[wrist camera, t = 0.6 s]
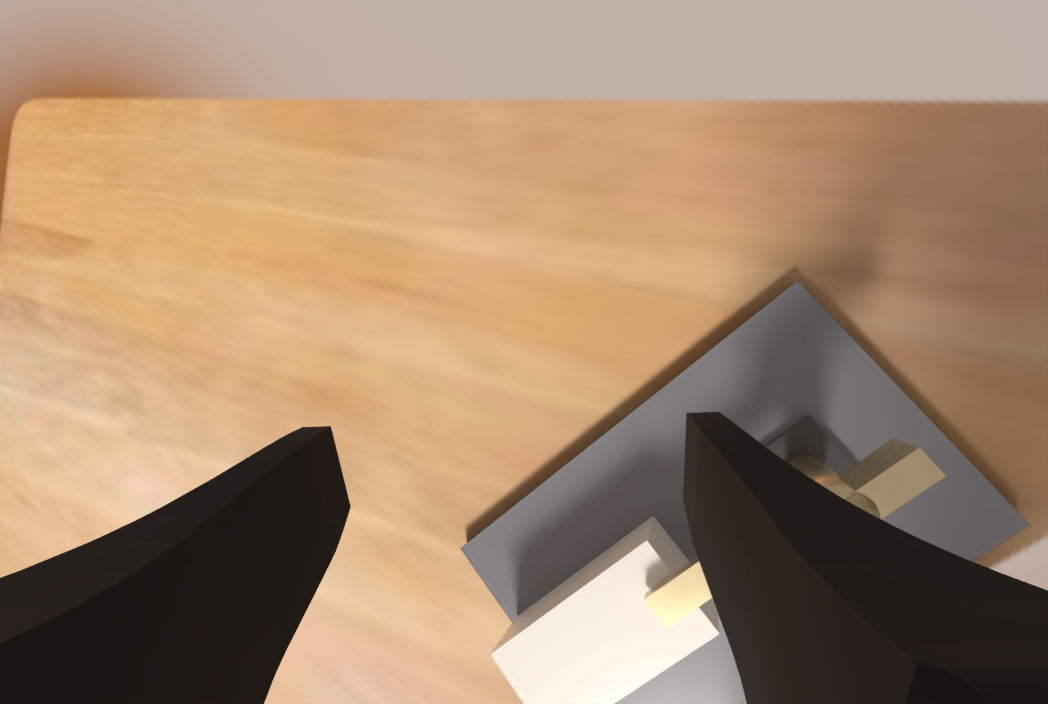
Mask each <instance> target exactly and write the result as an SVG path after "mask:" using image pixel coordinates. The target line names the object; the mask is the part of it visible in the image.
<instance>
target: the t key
mask: <svg viewBox="0 0 1048 704" xmlns="http://www.w3.org/2000/svg"><path fill="white" fill-rule="evenodd" d="M789 464H790V465H792V466H793V467H795V468H796V469H798V470H799V471H801V472H802V473H803V474H805V475H806V476H808V477H810V478H811V479H813V480H814V481H816V482H817V483H819V484H821V485H822V486H824V487H825V488H827V489H828V490H830V491H832V492H833V493H835V494H836V495H838V496H840V497H841V498H843V499H845V500H847V501H848V502H850V503H852V504H854V505H855V506H857V507H859V508H861V509H863V510H865V511H867V512H868V513H870V514H872V515H874V516H876V517H878V518H880V519H883V518H884V517H886V516H887V515H889V514H890V513H892V512H893V511H895V510H896V509H898V508H899V507H901V506H902V505H904V504H905V503H907V502H908V501H910V500H911V499H913V498H914V497H916V496H917V495H919V494H920V493H922V492H923V491H925V490H926V489H928V488H929V487H931V486H932V485H934V484H935V483H937V482H938V481H940V480H941V479H943V478H944V477H946V475H945V474H944V473H943V472H942V471H941V470H940V469H939V468H938V467H937V466H936V465H935V464H934V463H933V461H932V460H931V459H930V458H929V457H928V456H927V455H926V454H925V453H924V452H923V451H922V450H921V449H920V448H919V447H917V446H914V445H911V444H908V443H906V442H903V441H900V440H897V439H895V438H893V439H891V440H890V441H888V442H887V443H885V444H884V445H883V446H881V447H880V448H878V449H877V450H875V451H874V452H873V453H871V454H870V455H868V456H867V457H865V458H864V459H862V460H861V461H860V462H858V463H857V464H855V465H854V466H852V467H851V468H850V469H848V470H847V471H845V472H844V473H842V474H841V475H838V474H837V473H836V472H834V471H833V470H832V469H830V468H829V467H828V466H826V465H825V464H824V463H823V462H821V461H820V460H819V459H817V458H815V457H813V456H810V455H799V456H796V457H794V458H793V459H792V460H790V462H789ZM711 598H712V595H711V593H710V590H709V587H708V584H707V582H706V579H705V576H704V573H703V571H702V568H701V565H700V562H699V559H698V557H696V558H694V559H693V560H691V561H690V562H689V563H687V564H686V565H684V566H683V567H681V568H680V569H679V570H677V571H676V572H674V573H673V574H672V575H670V576H669V577H667V578H666V579H664V580H663V581H662V582H660V583H659V584H657V585H656V586H654V587H653V588H652V589H650V590H649V591H647V592H646V593H645V597H644V601H645V602H646V603H647V605H648V606H649V607H650V608H651V610H652V611H653V612H654V614H655V615H656V616H657V618H658V619H659V620H660V622H661V623H662V624H663V626H664V627H665V628H666V629H667V628H669V627H670V626H671V625H673V624H674V623H676V622H677V621H679V620H680V619H682V618H683V617H685V616H686V615H688V614H689V613H691V612H692V611H693V610H695V609H696V608H698V607H699V606H701V605H702V604H704V603H705V602H707V601H708V600H710V599H711Z"/></svg>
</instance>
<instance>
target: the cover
mask: <svg viewBox="0 0 1048 704" xmlns="http://www.w3.org/2000/svg"><path fill="white" fill-rule="evenodd" d="M689 562H690V561H689V560H688V559H687V557H686V556H685V555H684V554H683V552H682V551H681V550H680V549H679V547H678V546H677V545H676V544H675V542H674V541H673V540H672V539H671V537H670V536H669V535H668V534H667V532H666V531H665V530H664V528H663V527H662V526H661V525H660V523H659V522H658V521H657V520H656V518H655V517H654V516H652V517H651V518H649V519H648V520H647V521H645V522H644V523H643V524H641V525H640V526H639V527H637V528H636V529H635V530H633V531H632V532H630V533H629V534H628V535H626V536H625V537H624V538H622V539H621V540H620V541H618V542H617V543H616V544H614V545H613V546H611V547H610V548H609V549H607V550H606V551H605V552H603V553H602V554H601V555H599V556H598V557H597V558H595V559H594V560H593V561H591V562H590V563H588V564H587V565H586V566H584V567H583V568H582V569H580V570H579V571H578V572H576V573H575V574H574V575H572V576H571V577H569V578H568V579H567V580H565V581H564V582H563V583H561V584H560V585H559V586H557V587H556V588H555V589H553V590H552V591H550V592H549V593H548V594H546V595H545V596H544V597H542V598H541V599H540V600H538V601H537V602H536V603H534V604H533V605H532V606H530V607H529V608H527V609H526V610H525V611H523V612H522V613H521V614H519V615H518V616H517V617H516V618H515V620H514V621H513V623H512V624H511V626H510V627H509V628H508V630H507V631H506V633H505V634H504V636H503V637H502V638H501V640H500V641H499V643H498V644H497V645H496V647H495V648H494V650H493V651H492V653H491V654H490V655H491V656H492V658H493V659H494V661H495V662H496V664H497V665H498V666H499V668H500V669H501V671H502V672H503V674H504V675H505V677H506V678H507V680H508V681H509V683H510V684H511V686H512V687H513V689H514V690H515V691H516V693H517V694H518V696H519V697H520V699H521V700H522V702H523V703H524V704H615V703H616V702H618V701H619V700H621V699H622V698H624V697H625V696H627V695H628V694H630V693H631V692H633V691H634V690H636V689H637V688H639V687H640V686H642V685H643V684H645V683H646V682H648V681H649V680H651V679H652V678H654V677H655V676H657V675H658V674H660V673H661V672H663V671H664V670H666V669H668V668H669V667H671V666H672V665H674V664H675V663H677V662H678V661H680V660H681V659H683V658H684V657H686V656H687V655H689V654H690V653H692V652H693V651H695V650H696V649H698V648H699V647H701V646H702V645H704V644H705V643H707V642H708V641H710V640H711V639H713V638H714V637H716V636H717V635H719V634H720V631H719V621H718V612H717V609H716V606H715V604H714V601H713V598H711V599H710V600H708V601H707V602H705V603H704V604H702V605H701V606H699V607H698V608H696V609H695V610H693V611H692V612H691V613H689V614H688V615H686V616H685V617H683V618H682V619H680V620H679V621H677V622H676V623H674V624H673V625H671V626H670V627H669V628H667V629H666V628H665V627H664V626H663V624H662V623H661V622H660V620H659V619H658V618H657V616H656V615H655V614H654V612H653V611H652V610H651V608H650V607H649V606H648V605H647V603H646V602H645V601H644V597H645V593H646V592H647V591H649V590H650V589H652V588H653V587H654V586H656V585H657V584H659V583H660V582H662V581H663V580H664V579H666V578H667V577H669V576H670V575H672V574H673V573H674V572H676V571H677V570H679V569H680V568H681V567H683V566H684V565H686V564H687V563H689Z"/></svg>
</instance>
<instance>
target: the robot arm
mask: <svg viewBox="0 0 1048 704" xmlns="http://www.w3.org/2000/svg"><path fill="white" fill-rule="evenodd" d="M683 501H684V506H685V510H686V515H687V520H688V524H689V529H690V533H691V537H692V542H693V545H694V548H695V551H696V554H697V557H698V559H699V562H700V565H701V568H702V571H703V573H704V576H705V579H706V582H707V584H708V587H709V590H710V593H711V595H712V598H713V601H714V604H715V606H716V609H717V612H718V614H719V617H720V620H721V623H722V625H723V628H724V631H725V634H726V636H727V639H728V642H729V645H730V647H731V650H732V653H733V656H734V659H735V663H736V666H737V669H738V672H739V675H740V679H741V683H742V687H743V690H744V694H745V698H746V702H747V704H1048V591H1047V590H1045V589H1042V588H1039V587H1037V586H1034V585H1031V584H1028V583H1026V582H1023V581H1020V580H1018V579H1015V578H1012V577H1010V576H1007V575H1004V574H1001V573H999V572H997V571H994V570H992V569H989V568H987V567H984V566H982V565H979V564H977V563H974V562H972V561H969V560H967V559H964V558H962V557H960V556H958V555H955V554H953V553H951V552H949V551H946V550H944V549H942V548H940V547H937V546H935V545H933V544H931V543H929V542H926V541H924V540H922V539H920V538H917V537H915V536H913V535H911V534H909V533H907V532H905V531H903V530H901V529H899V528H897V527H895V526H893V525H891V524H889V523H887V522H885V521H883V520H881V519H880V518H878V517H876V516H874V515H872V514H870V513H868V512H867V511H865V510H863V509H861V508H859V507H857V506H855V505H854V504H852V503H850V502H848V501H847V500H845V499H843V498H841V497H840V496H838V495H836V494H835V493H833V492H832V491H830V490H828V489H827V488H825V487H824V486H822V485H821V484H819V483H817V482H816V481H814V480H813V479H811V478H810V477H808V476H806V475H805V474H803V473H802V472H801V471H799V470H798V469H796V468H795V467H793V466H792V465H790V464H789V463H787V462H786V461H785V460H783V459H782V458H780V457H779V456H778V455H776V454H775V453H773V452H772V451H771V450H769V449H768V448H767V447H765V446H764V445H763V444H761V443H760V442H759V441H757V440H756V439H755V438H753V437H752V436H751V435H749V434H748V433H747V432H745V431H744V430H743V429H741V428H740V427H739V426H738V425H736V424H735V423H734V422H732V421H731V420H730V419H728V418H727V417H726V416H724V415H723V414H721V413H720V412H697V413H686V437H685V461H684V486H683ZM349 510H350V503H349V499H348V494H347V490H346V486H345V482H344V478H343V474H342V470H341V466H340V462H339V458H338V454H337V450H336V446H335V442H334V438H333V433H332V429H331V426H326V427H302V428H300V429H298V430H296V431H293V432H292V433H290V434H288V435H286V436H284V437H282V438H280V439H279V440H277V441H275V442H273V443H272V444H270V445H268V446H266V447H265V448H263V449H261V450H260V451H258V452H256V453H255V454H253V455H251V456H250V457H248V458H246V459H245V460H243V461H241V462H240V463H238V464H236V465H235V466H233V467H231V468H230V469H228V470H226V471H225V472H223V473H221V474H220V475H218V476H216V477H215V478H213V479H211V480H210V481H208V482H206V483H204V484H202V485H201V486H199V487H197V488H195V489H193V490H192V491H190V492H188V493H186V494H185V495H183V496H181V497H179V498H177V499H176V500H174V501H172V502H170V503H168V504H167V505H165V506H163V507H161V508H159V509H157V510H155V511H154V512H152V513H150V514H148V515H146V516H144V517H142V518H140V519H138V520H136V521H134V522H132V523H130V524H128V525H125V526H123V527H121V528H119V529H117V530H115V531H113V532H111V533H108V534H106V535H104V536H102V537H100V538H98V539H96V540H93V541H91V542H89V543H87V544H84V545H82V546H79V547H77V548H74V549H72V550H70V551H67V552H65V553H62V554H60V555H57V556H55V557H52V558H50V559H48V560H45V561H43V562H40V563H38V564H35V565H33V566H30V567H28V568H26V569H23V570H21V571H18V572H15V573H13V574H10V575H7V576H4V577H2V578H0V704H264V702H265V699H266V697H267V694H268V691H269V689H270V686H271V684H272V681H273V679H274V676H275V674H276V671H277V669H278V667H279V665H280V663H281V661H282V658H283V656H284V654H285V652H286V650H287V648H288V646H289V644H290V642H291V640H292V638H293V636H294V634H295V632H296V630H297V628H298V626H299V624H300V622H301V620H302V618H303V616H304V614H305V612H306V610H307V608H308V606H309V604H310V602H311V600H312V598H313V596H314V594H315V592H316V590H317V588H318V586H319V584H320V582H321V580H322V578H323V576H324V574H325V572H326V570H327V568H328V566H329V564H330V562H331V560H332V558H333V556H334V554H335V552H336V549H337V546H338V544H339V541H340V538H341V535H342V532H343V529H344V526H345V523H346V520H347V517H348V513H349Z"/></svg>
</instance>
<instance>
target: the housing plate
mask: <svg viewBox="0 0 1048 704" xmlns="http://www.w3.org/2000/svg"><path fill="white" fill-rule="evenodd" d="M697 412H720V413H721V414H723V415H724V416H726V417H727V418H728V419H730V420H731V421H732V422H734V423H735V424H736V425H738V426H739V427H740V428H741V429H743V430H744V431H745V432H747V433H748V434H749V435H751V436H752V437H753V438H755V439H756V440H757V441H759V442H760V443H761V444H763V445H764V446H765V447H767V448H768V449H769V450H771V451H772V452H773V453H775V454H776V455H778V456H779V457H780V458H782V459H783V460H785V461H786V462H787V463H789V462H790V460H792V459H793V458H794V457H796V456H799V455H810V456H813V457H815V458H817V459H819V460H820V461H821V462H823V463H824V464H825V465H826V466H828V467H829V468H830V469H832V470H833V471H834V472H836V473H837V474H838V475H841V474H842V473H844V472H845V471H847V470H848V469H850V468H851V467H852V466H854V465H855V464H857V463H858V462H860V461H861V460H862V459H864V458H865V457H867V456H868V455H870V454H871V453H873V452H874V451H875V450H877V449H878V448H880V447H881V446H883V445H884V444H885V443H887V442H888V441H890V440H891V439H893V438H895V439H897V440H900V441H903V442H906V443H908V444H911V445H914V446H917V447H919V448H920V449H921V450H922V451H923V452H924V453H925V454H926V455H927V456H928V457H929V458H930V459H931V460H932V461H933V463H934V464H935V465H936V466H937V467H938V468H939V469H940V470H941V471H942V472H943V473H944V474H945V475H946V477H944V478H943V479H941V480H940V481H938V482H937V483H935V484H934V485H932V486H931V487H929V488H928V489H926V490H925V491H923V492H922V493H920V494H919V495H917V496H916V497H914V498H913V499H911V500H910V501H908V502H907V503H905V504H904V505H902V506H901V507H899V508H898V509H896V510H895V511H893V512H892V513H890V514H889V515H887V516H886V517H884V518H883V519H881V520H883V521H885V522H887V523H889V524H891V525H893V526H895V527H897V528H899V529H901V530H903V531H905V532H907V533H909V534H911V535H913V536H915V537H917V538H920V539H922V540H924V541H926V542H929V543H931V544H933V545H935V546H937V547H940V548H942V549H944V550H946V551H949V552H951V553H953V554H955V555H958V556H960V557H962V558H964V559H967V560H969V561H973V560H975V559H977V558H978V557H980V556H981V555H983V554H985V553H986V552H988V551H989V550H991V549H993V548H994V547H996V546H998V545H999V544H1001V543H1002V542H1004V541H1006V540H1007V539H1009V538H1010V537H1012V536H1014V535H1015V534H1017V533H1018V532H1020V531H1022V530H1023V529H1025V528H1026V527H1028V526H1030V524H1029V523H1028V522H1027V521H1026V520H1025V519H1024V518H1023V517H1022V516H1021V514H1020V513H1019V512H1018V511H1017V510H1016V509H1015V508H1014V507H1013V506H1012V505H1011V504H1010V503H1009V502H1008V501H1007V500H1006V499H1005V498H1004V497H1003V496H1002V495H1001V493H1000V492H999V491H998V490H997V489H996V488H995V487H994V486H993V485H992V484H991V483H990V482H989V481H988V480H987V479H986V478H985V477H984V476H983V475H982V474H981V473H980V471H979V470H978V469H977V468H976V467H975V466H974V465H973V464H972V463H971V462H970V461H969V460H968V459H967V458H966V457H965V456H964V455H963V454H962V453H961V452H960V450H959V449H958V448H957V447H956V446H955V445H954V444H953V443H952V442H951V441H950V440H949V439H948V438H947V437H946V436H945V435H944V434H943V433H942V432H941V431H940V430H939V428H938V427H937V426H936V425H935V424H934V423H933V422H932V421H931V420H930V419H929V418H928V417H927V416H926V415H925V414H924V413H923V412H922V411H921V410H920V409H919V407H918V406H917V405H916V404H915V403H914V402H913V401H912V400H911V399H910V398H909V397H908V396H907V395H906V394H905V393H904V392H903V391H902V390H901V389H900V388H899V386H898V385H897V384H896V383H895V382H894V381H893V380H892V379H891V378H890V377H889V376H888V375H887V374H886V373H885V372H884V371H883V370H882V369H881V368H880V367H879V366H878V364H877V363H876V362H875V361H874V360H873V359H872V358H871V357H870V356H869V355H868V354H867V353H866V352H865V351H864V350H863V349H862V348H861V347H860V346H859V345H858V343H857V342H856V341H855V340H854V339H853V338H852V337H851V336H850V335H849V334H848V333H847V332H846V331H845V330H844V329H843V328H842V327H841V326H840V325H839V324H838V323H837V321H836V320H835V319H834V318H833V317H832V316H831V315H830V314H829V313H828V312H827V311H826V310H825V309H824V308H823V307H822V306H821V305H820V304H819V303H818V302H817V300H816V299H815V298H814V297H813V296H812V295H811V294H810V293H809V292H808V291H807V290H806V289H805V288H804V287H803V286H802V285H801V284H800V283H799V282H798V281H796V282H795V283H794V284H793V285H791V286H790V287H789V288H788V289H786V290H785V291H784V292H783V293H781V294H780V295H779V296H778V297H776V298H775V299H774V300H773V301H771V302H770V303H769V304H768V305H766V306H765V307H764V308H762V309H761V310H760V311H759V312H757V313H756V314H755V315H754V316H752V317H751V318H750V319H749V320H747V321H746V322H745V323H744V324H742V325H741V326H740V327H739V328H737V329H736V330H735V331H734V332H732V333H731V334H730V335H728V336H727V337H726V338H725V339H723V340H722V341H721V342H720V343H718V344H717V345H716V346H715V347H713V348H712V349H711V350H710V351H708V352H707V353H706V354H705V355H703V356H702V357H701V358H700V359H698V360H697V361H696V362H694V363H693V364H692V365H691V366H689V367H688V368H687V369H686V370H684V371H683V372H682V373H681V374H679V375H678V376H677V377H676V378H674V379H673V380H672V381H671V382H669V383H668V384H667V385H666V386H664V387H663V388H662V389H661V390H659V391H658V392H657V393H655V394H654V395H653V396H652V397H650V398H649V399H648V400H647V401H645V402H644V403H643V404H642V405H640V406H639V407H638V408H637V409H635V410H634V411H633V412H632V413H630V414H629V415H628V416H627V417H625V418H624V419H623V420H621V421H620V422H619V423H618V424H616V425H615V426H614V427H613V428H611V429H610V430H609V431H608V432H606V433H605V434H604V435H603V436H601V437H600V438H599V439H598V440H596V441H595V442H594V443H593V444H591V445H590V446H589V447H587V448H586V449H585V450H584V451H582V452H581V453H580V454H579V455H577V456H576V457H575V458H574V459H572V460H571V461H570V462H569V463H567V464H566V465H565V466H564V467H562V468H561V469H560V470H559V471H557V472H556V473H555V474H553V475H552V476H551V477H550V478H548V479H547V480H546V481H545V482H543V483H542V484H541V485H540V486H538V487H537V488H536V489H535V490H533V491H532V492H531V493H530V494H528V495H527V496H526V497H525V498H523V499H522V500H521V501H520V502H518V503H517V504H516V505H514V506H513V507H512V508H511V509H509V510H508V511H507V512H506V513H504V514H503V515H502V516H501V517H499V518H498V519H497V520H496V521H494V522H493V523H492V524H491V525H489V526H488V527H487V528H486V529H484V530H483V531H482V532H480V533H479V534H478V535H477V536H475V537H474V538H473V539H472V540H470V541H469V542H468V543H467V544H465V545H464V546H463V547H462V548H460V549H461V550H462V552H463V553H464V554H465V556H466V557H467V559H468V560H469V562H470V563H471V564H472V566H473V567H474V569H475V570H476V572H477V573H478V575H479V576H480V577H481V579H482V580H483V582H484V583H485V585H486V586H487V587H488V589H489V590H490V592H491V593H492V595H493V596H494V597H495V599H496V600H497V602H498V603H499V605H500V606H501V607H502V609H503V610H504V612H505V613H506V615H507V616H508V617H509V619H510V620H511V622H512V623H513V621H514V620H515V618H516V617H517V616H518V615H519V614H521V613H522V612H523V611H525V610H526V609H527V608H529V607H530V606H532V605H533V604H534V603H536V602H537V601H538V600H540V599H541V598H542V597H544V596H545V595H546V594H548V593H549V592H550V591H552V590H553V589H555V588H556V587H557V586H559V585H560V584H561V583H563V582H564V581H565V580H567V579H568V578H569V577H571V576H572V575H574V574H575V573H576V572H578V571H579V570H580V569H582V568H583V567H584V566H586V565H587V564H588V563H590V562H591V561H593V560H594V559H595V558H597V557H598V556H599V555H601V554H602V553H603V552H605V551H606V550H607V549H609V548H610V547H611V546H613V545H614V544H616V543H617V542H618V541H620V540H621V539H622V538H624V537H625V536H626V535H628V534H629V533H630V532H632V531H633V530H635V529H636V528H637V527H639V526H640V525H641V524H643V523H644V522H645V521H647V520H648V519H649V518H651V517H652V516H654V517H655V518H656V520H657V521H658V522H659V523H660V525H661V526H662V527H663V528H664V530H665V531H666V532H667V534H668V535H669V536H670V537H671V539H672V540H673V541H674V542H675V544H676V545H677V546H678V547H679V549H680V550H681V551H682V552H683V554H684V555H685V556H686V557H687V559H688V560H689V561H691V560H693V559H694V558H696V557H697V554H696V551H695V548H694V545H693V542H692V537H691V533H690V529H689V524H688V520H687V515H686V510H685V506H684V501H683V486H684V461H685V437H686V413H697ZM718 621H719V631H720V634H719V635H717V636H716V637H714V638H713V639H711V640H710V641H708V642H707V643H705V644H704V645H702V646H701V647H699V648H698V649H696V650H695V651H693V652H692V653H690V654H689V655H687V656H686V657H684V658H683V659H681V660H680V661H678V662H677V663H675V664H674V665H672V666H671V667H669V668H668V669H666V670H664V671H663V672H661V673H660V674H658V675H657V676H655V677H654V678H652V679H651V680H649V681H648V682H646V683H645V684H643V685H642V686H640V687H639V688H637V689H636V690H634V691H633V692H631V693H630V694H628V695H627V696H625V697H624V698H622V699H621V700H619V701H618V702H616V703H615V704H744V703H746V698H745V694H744V690H743V687H742V683H741V679H740V675H739V672H738V669H737V666H736V663H735V659H734V656H733V653H732V650H731V647H730V645H729V642H728V639H727V636H726V634H725V631H724V628H723V625H722V623H721V620H720V617H719V614H718Z"/></svg>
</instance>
